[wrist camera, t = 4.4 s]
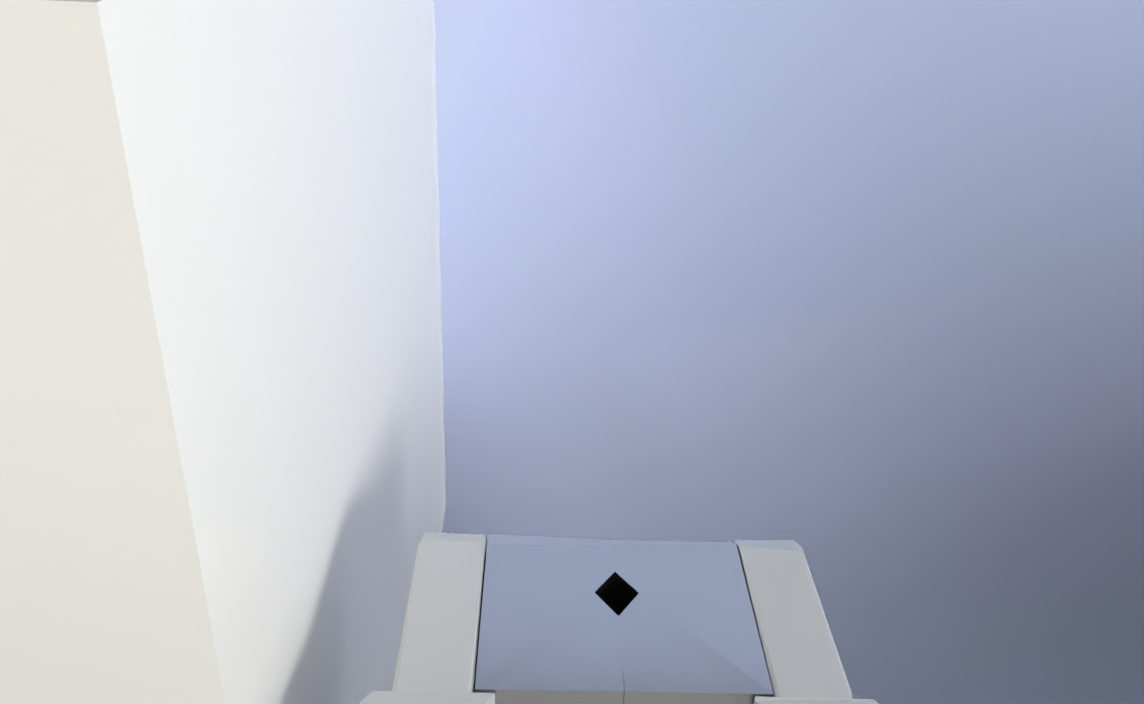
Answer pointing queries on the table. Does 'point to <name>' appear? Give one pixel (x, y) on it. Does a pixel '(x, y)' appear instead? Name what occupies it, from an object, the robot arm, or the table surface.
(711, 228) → the table surface
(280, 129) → the tile
